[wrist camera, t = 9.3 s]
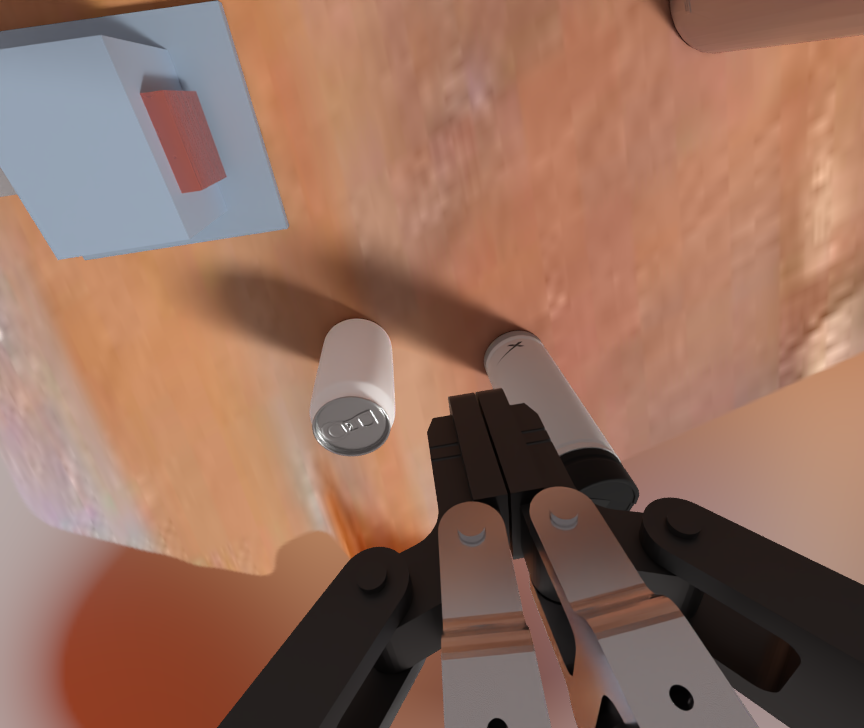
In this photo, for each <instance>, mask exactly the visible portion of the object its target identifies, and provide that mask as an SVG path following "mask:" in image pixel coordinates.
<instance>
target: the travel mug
mask: <svg viewBox="0 0 864 728" xmlns="http://www.w3.org/2000/svg"><path fill="white" fill-rule="evenodd" d="M484 367H485V369H486V372H487V374H488V377H489V379H490V382H491V384H492V387H493V389H498V388H502V389H503V390H504V393H505V395H506V397H507V400H508V402H509V404H510V405H514V404H520V403H525V404H526V405H528V406H529V407H530V408H531V409H533V410H534V411H535V412H537V413H538V415H539V417H540V419H541V421H542V423H543V425H544V427H545V430H546V431H547V433H548V435H549V437H550V439H551V442H552V443H553V445H554V447H555V449H556V450H557V452H558V454H559V456H560V458H561V460H562V462H563V464H564V466H565V468H566V470H567V472H568V474H569V476H570V478H571V480H572V482H573V484H574V486H575V487H576V489H577V490H578V491H579V492H581V493H583V494H584V495H586V496H587V497H588V498H589V499H590V500H592V502H593V503H595V504H597V505H599V506H602V507H605V508H608V509H614V510H622V511H630V509H631V508H632V506H633V505H634V504H636V502H637V500H638V497H639V490H638V488H637V487H636V485H635V483H634V482H633V480H632V479H631V477H630V476H629V474H628V473H627V471H626V470H625V469H624V467H623V465H622V464H621V461H620V459H619V458H618V456H617V455H616V453H615V452H614V450H613V449H612V447H611V446H610V444H609V443H608V441H607V440H606V438H605V437H604V435H603V434H602V432H601V431H600V429H599V428H598V426H597V425H596V423H595V422H594V420H593V419H592V417H591V416H590V414H589V413H588V411H587V410H586V408H585V407H584V405H583V404H582V402H581V401H580V399H579V398H578V396H577V395H576V393H575V392H574V390H573V389H572V387H571V386H570V384H569V383H568V381H567V380H566V378H565V377H564V375H563V374H562V372H561V371H560V369H559V368H558V366H557V365H556V363H555V362H554V360H553V359H552V357H551V356H550V354H549V353H548V351H547V350H546V348H545V347H544V345H543V344H542V342H541V341H540V340H539V339H538V337H537V336H535V335H533V334H532V333H529V332H526V331H512V332H508V333H505V334H503V335H501V336H499V337H498V338H497V339H495V340H494V341H493V342H492V343H491V344H490V346H489V347H488V349H487V351H486V353H485V356H484Z"/></svg>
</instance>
